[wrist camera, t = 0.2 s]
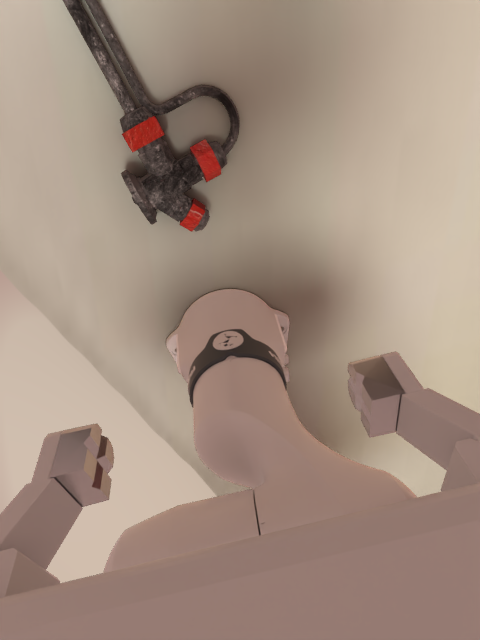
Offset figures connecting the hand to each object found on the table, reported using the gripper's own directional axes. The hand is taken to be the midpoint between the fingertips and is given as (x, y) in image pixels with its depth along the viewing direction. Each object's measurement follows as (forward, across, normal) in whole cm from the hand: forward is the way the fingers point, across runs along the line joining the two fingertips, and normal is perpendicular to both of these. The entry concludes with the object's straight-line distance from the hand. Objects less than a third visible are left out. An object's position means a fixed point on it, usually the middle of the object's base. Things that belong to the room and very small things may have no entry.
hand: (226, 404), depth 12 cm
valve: (+41, -2, +2) cm, 41 cm away
